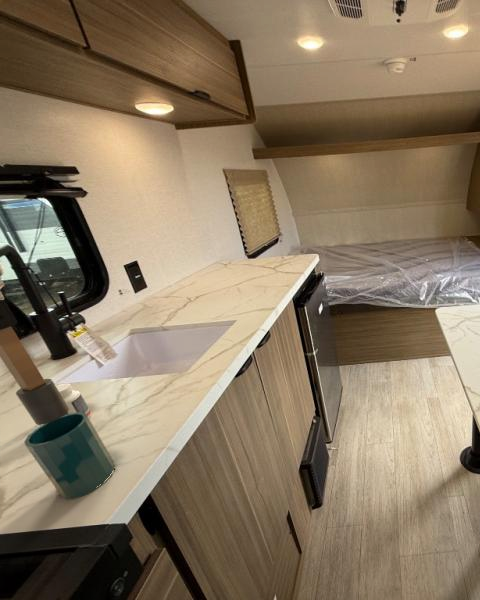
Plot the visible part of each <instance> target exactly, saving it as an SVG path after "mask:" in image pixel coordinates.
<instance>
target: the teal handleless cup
mask: <svg viewBox="0 0 480 600" xmlns="http://www.w3.org/2000/svg"><path fill="white" fill-rule="evenodd" d="M24 445H25V447H26V449H27V450H28V451H29V453H30V454H31V456H32V457H33V458H34V460H35V461H36V463H37V464H38V466H39V467H40V468H41V470H42V471H43V472H44V474H45V475H46V477H47V478H48V479H49V481H50V482H51V484H52V486H53V487H54V488H55V489H56V491H57V492H58V493H59V494H60V495H61V497H62V498H63V499H67V500H71V499H77V498H80V497H83V496H86V495H87V494H89V492H90V493H92V492H93V491H95V490H96V489H95V488H96V487H97V486H99V485H100V484H102V483H103V482H104V481H105V480H106V479H107V478H108V477H109V476H110V474H111V473H112V471H113V470H114V467H115V465H116V463H115V461H114V459H113V458H112V456H111V454H110V452H109V451H108V449H107V447H106V445H105V444H104V442H103V440H102V438H101V437H100V435H99V434H98V432H97V430H96V428H95V427H94V425H93V423H92V421H91V420H90V417H89V418H88V416H87V415H86V413H81V412H77V413H71V414H67V415H64V416H62V417H61V418H59V419H57V420H55V421H53V422H50V423H47V424H42V425H39V427H37V428H35V429H34V430H33V431H31V433H30V434H28V435H27V437H26V438H25V440H24ZM102 485H103V484H102ZM94 489H95V490H94ZM92 490H93V491H92ZM91 491H92V492H91Z"/></svg>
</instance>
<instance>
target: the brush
mask: <svg viewBox="0 0 480 600" xmlns="http://www.w3.org/2000/svg"><path fill="white" fill-rule="evenodd" d="M0 359H1V361H2V362H3V363H4V365H5V367H6V368H7V369H8V371H9V373H10V374H11V376H12V377H13V379H14V380H15V382H16V383H17V384H18V386H19V389H18V390H16V392H15V395H16V396H17V398H18V399H19V401H20V403H21V404H22V406H23V407H24V408H25V410H26V411H27V413H28V414H29V416H30V417H31V419H32V420H33V422H34V423H35V425H38V426H42V425H44V424H47V423H50V422H53V421H55V420H57V419H59V418H61V417H62V416H64V415H65V414H66V413H68V411H69V407H68V405H67V404H66V402H65V401H64V399H63V397H62V396H61V394H60V392H59V391H58V389H57V387H56V386H57V385H56V384H55V382H54V381H53V380H52V379H51V378H44V377H43V375H42V373H41V372H40V370H39V369H38V368H37V366H36V364H35V362H34V361H33V359H32V357H31V356H30V354H29V353H28V351H27V350H26V348H25V346H24V344H23V343H22V341H21V340H20V338H19V337H18V335H17V333H16V332H15V331H14V329H13V326H11V327H8V328H5V329H2V330H0Z"/></svg>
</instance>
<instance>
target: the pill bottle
mask: <svg viewBox="0 0 480 600" xmlns="http://www.w3.org/2000/svg"><path fill="white" fill-rule="evenodd" d="M55 386H56V387H57V389H58V391H59V392H60V394H61V396H62V397H63V399H64V401H65V402H66V404H67V405H68V407H69V411H68V413H66V414H65V415H67V414H71V413H77V412H81V413H86V415H87V416H88V418H89V419H90V417H91V416H92V411H91V409H90V408H89V406H88V404H87V403H86V401H85V399H84V398H83V395H82V394H81V392H80V391H78V390H75V389H74V388H73V386H72V385H71V383H67V382H66V383H60V384H58V385H55Z"/></svg>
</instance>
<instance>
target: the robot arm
mask: <svg viewBox="0 0 480 600" xmlns="http://www.w3.org/2000/svg"><path fill="white" fill-rule="evenodd" d="M4 273H5V269H4V267H3V265H2V263H1V262H0V330H2V329H5V328H8V327H14V326H16V325H17V324H18V320H17V319H16V317H15V316H14V314H13V312H12V311H11V309H10V307H9V305H8V304H7V302H6V300H5V296H4V294H3V292H2V291H1V289H2V288H3V287H5V282H4V281H3V280H2V279H1V277H2V276H3V275H4Z"/></svg>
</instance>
